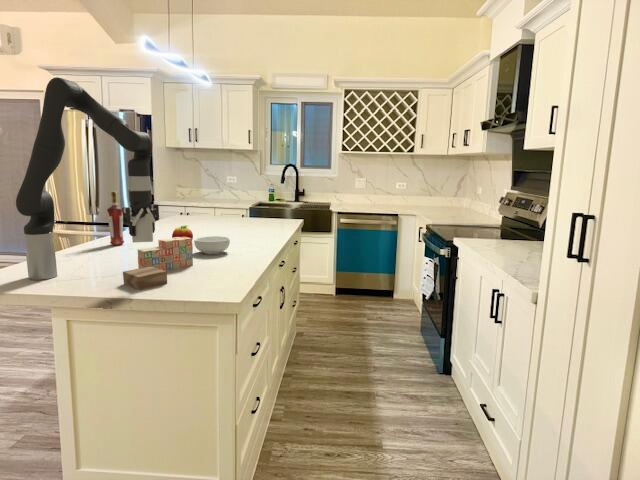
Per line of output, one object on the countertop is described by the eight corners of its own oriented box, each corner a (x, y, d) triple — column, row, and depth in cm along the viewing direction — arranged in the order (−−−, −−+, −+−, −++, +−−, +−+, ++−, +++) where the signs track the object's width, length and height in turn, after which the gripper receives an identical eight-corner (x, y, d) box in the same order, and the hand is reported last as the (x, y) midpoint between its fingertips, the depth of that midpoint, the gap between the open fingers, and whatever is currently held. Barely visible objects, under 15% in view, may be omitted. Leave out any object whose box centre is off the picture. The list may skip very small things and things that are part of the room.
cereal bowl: (234, 250, 222) (233, 236, 221) (223, 257, 206) (223, 242, 205) (202, 248, 224) (201, 235, 223) (189, 255, 208) (188, 241, 206)
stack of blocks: (144, 274, 174) (143, 244, 172) (138, 271, 179) (136, 241, 176) (193, 265, 189) (192, 237, 187) (186, 263, 194) (185, 235, 191)
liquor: (109, 243, 231) (105, 191, 226) (124, 242, 235) (120, 191, 230) (110, 246, 225) (106, 192, 220) (125, 245, 229) (121, 192, 223)
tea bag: (152, 241, 157) (151, 214, 155) (132, 242, 155) (130, 214, 153) (153, 239, 161) (151, 213, 159) (133, 240, 159) (131, 213, 157)
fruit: (168, 245, 230) (167, 227, 228) (180, 242, 240) (179, 224, 238) (185, 247, 227) (184, 228, 225) (197, 243, 237) (196, 225, 235)
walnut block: (123, 284, 160) (122, 271, 159) (151, 278, 168) (150, 266, 168) (139, 290, 153) (138, 277, 152) (167, 284, 162) (166, 271, 161)
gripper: (148, 187, 162) (151, 230, 165) (115, 189, 150) (118, 236, 153) (163, 188, 159) (165, 232, 162) (130, 190, 147) (132, 238, 150)
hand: (142, 234), depth 157 cm, fingers closed on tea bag, 7 cm apart
